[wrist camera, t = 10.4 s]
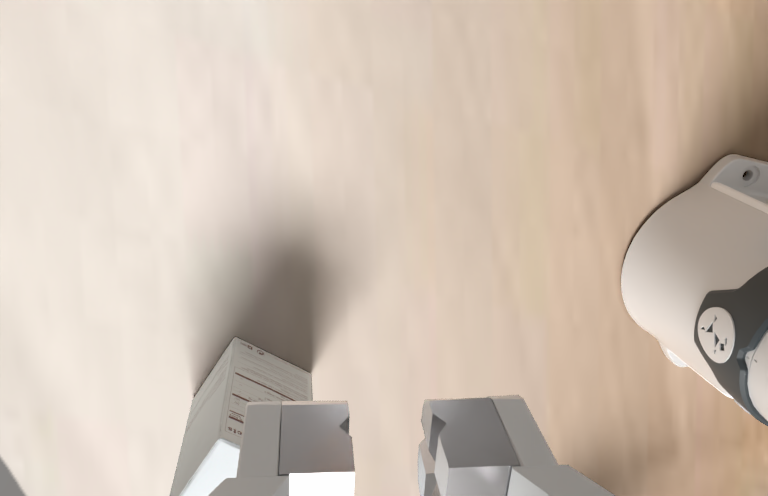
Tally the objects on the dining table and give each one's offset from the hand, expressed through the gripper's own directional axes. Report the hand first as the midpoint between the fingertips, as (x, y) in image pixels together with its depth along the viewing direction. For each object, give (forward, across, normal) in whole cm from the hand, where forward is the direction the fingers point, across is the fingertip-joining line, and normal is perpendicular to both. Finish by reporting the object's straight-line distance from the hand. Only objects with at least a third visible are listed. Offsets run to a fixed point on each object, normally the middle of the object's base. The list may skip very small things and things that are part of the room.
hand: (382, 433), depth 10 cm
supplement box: (+37, +5, +25) cm, 45 cm away
